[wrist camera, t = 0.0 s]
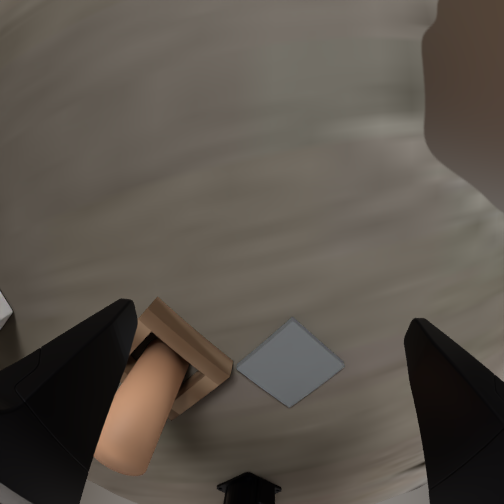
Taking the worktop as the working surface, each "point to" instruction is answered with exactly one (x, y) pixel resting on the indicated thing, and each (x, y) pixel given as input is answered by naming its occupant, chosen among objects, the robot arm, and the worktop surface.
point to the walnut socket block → (183, 354)
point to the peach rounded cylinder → (141, 410)
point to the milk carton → (4, 310)
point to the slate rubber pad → (290, 363)
